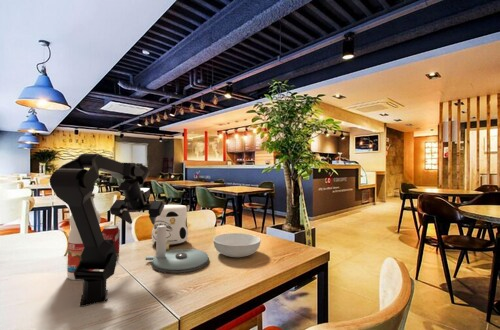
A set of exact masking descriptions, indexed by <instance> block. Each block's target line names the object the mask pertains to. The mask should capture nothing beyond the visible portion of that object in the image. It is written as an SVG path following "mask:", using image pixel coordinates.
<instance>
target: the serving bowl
mask: <svg viewBox="0 0 500 330" xmlns="http://www.w3.org/2000/svg"><path fill="white" fill-rule="evenodd" d="M212 240H213V245H214V248H215V250H216V252H218V253H219V254H221V255H224V256H226V257H231V258H242V257H243V258H244V257H247V256H251V255H253V254H255V253H256V252H257V251H258V250H259V248H260V246H261V238H260V237H259V236H258V235H254V234H250V233H241V232H232V233H231V232H230V233H229V232H228V233H227V232H226V233H222V234H218V235H216V236H214V237H213V239H212Z"/></svg>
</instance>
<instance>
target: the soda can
mask: <svg viewBox="0 0 500 330" xmlns="http://www.w3.org/2000/svg"><path fill="white" fill-rule="evenodd" d="M101 231H102V234H103V237H104V239H107V240H113V241H114V245H115V248H116V249H117V250H116V254H117V255H119V254H120V243H121V242H120V237H121V235H120V234H121V230H120V228H119V225H117V224H115V225H114V224H112V225H111V224H110V225H105V226H103V229H101Z"/></svg>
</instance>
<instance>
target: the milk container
mask: <svg viewBox="0 0 500 330" xmlns="http://www.w3.org/2000/svg"><path fill="white" fill-rule="evenodd" d="M187 213H188V207H187V205H182V204H164V208H163V210H162V212H161V215H160V216H157V217H156V220H155V224H154V225H153V228H152V230H151V241H152V242H153V244H154V245H156V238H157V226H161V225H165V226H166V242H169V247H170V246H171V247H173V246H178V245H182V244H184V243H185V242H187V240H188V238H189V228H188V222H187V221H188V214H187Z"/></svg>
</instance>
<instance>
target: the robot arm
mask: <svg viewBox="0 0 500 330" xmlns="http://www.w3.org/2000/svg"><path fill="white" fill-rule="evenodd" d="M100 172H104V173H107V174H110V176H111V177H112V178H114V179H116V180H122V182H120V185H119V186H118V191H122V192H123V195H124V199H116V200H114V202H113V204H112V205H111V206H110V208H109V212H110V215H112V216H115V217H118V218H120V219H122V220H123V221H124V222H126V223H128V224H129V225H132V223H133V219H132V217H131V213H130V211H131V212H133V211H134V212H141V211H147V212H148V215H149V216H148V218H149V220H150V221H151V224H152V225H153V226H154V224H155V220H156V217H157V216H160V215H161V212H162V210H163V208H164V205H165V203H164V201H162V200H153V201H152V202H151V203H147V202H148V198H149V197H151V188H150V187H141V185H143V184H144V183H145V181H146V179H147V178H148V176H149V175H150V170H149V168H148V167H147V166H145V165H143V163H142V162H121V161H118V160H114V159H112V158H109V157H106V156H103V155H102V154H100V153H89V152H88V153H86V152H85V153H81V154H80V155H78V156H77V157H76V158H75V159H72V160H70V161H68V162H66V163H64V164H63V165H61V166H60V167H59V168H57V169H55V171H54V172H53V173H52V174H51V175H50V177H49V185H50V188H51V189H52V191H53V193H54V194H55V196H56V197H57V198H58V199H59V200H62V202H64V203H65V204H67V206H68V208H69V211H70V214H71V215H72V216H73V219H74V221H75V224H76V227H77V229H78V232H79V235H80V237H81V240H82V242H83V245H84V249H83V251H82V254H81V261H80V263H79V265H78V266H77V268H76V270H75V272H74V277H75V279H82V294H81V298H80V302H79V307H85V306H89V305H93V304H98V303H104V302H107V301H108V299H109V297H108V293H109V291H108V289H107V280H108V279H109V278H111V277H112V276H113V275H114V274H115V271H116V266H117V261H118V254H116V250H117V249H116V248H115V245H114V241H113V240H107V239H104V237H103V234H102V229H101V226H100V224H99V222H98V219H97V216H96V213H95V210H94V207H93V204H92V201H91V195H92V193H94V190H95V183H96V181H97V180H98V179H99V178H100ZM89 269H99V271H89Z"/></svg>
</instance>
